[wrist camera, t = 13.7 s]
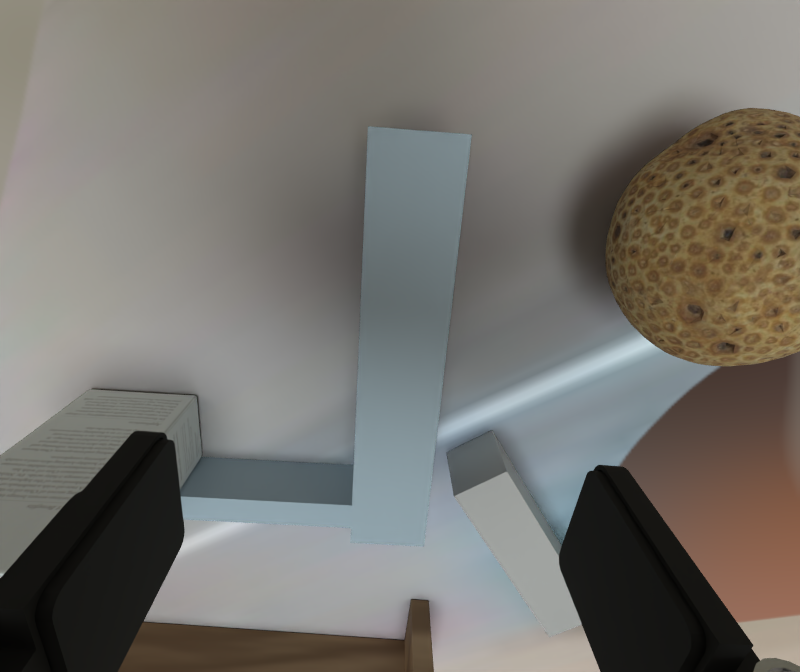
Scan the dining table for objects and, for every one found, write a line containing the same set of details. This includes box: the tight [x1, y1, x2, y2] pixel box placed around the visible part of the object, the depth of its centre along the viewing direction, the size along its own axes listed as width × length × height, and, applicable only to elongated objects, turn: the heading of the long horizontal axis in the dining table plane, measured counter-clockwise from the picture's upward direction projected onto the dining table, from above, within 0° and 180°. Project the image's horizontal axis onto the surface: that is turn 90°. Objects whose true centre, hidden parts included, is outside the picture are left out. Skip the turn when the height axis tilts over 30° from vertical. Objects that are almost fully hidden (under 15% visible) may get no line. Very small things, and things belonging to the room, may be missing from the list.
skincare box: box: [0, 389, 202, 578], centre depth 20 cm, size 6×4×12 cm
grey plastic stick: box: [447, 430, 582, 637], centre depth 27 cm, size 12×3×4 cm, turn 31°
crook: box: [180, 126, 472, 546], centre depth 21 cm, size 20×20×6 cm
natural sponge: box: [605, 108, 800, 366], centre depth 17 cm, size 9×9×10 cm
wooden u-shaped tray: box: [118, 600, 434, 672], centre depth 27 cm, size 13×24×5 cm, turn 84°
